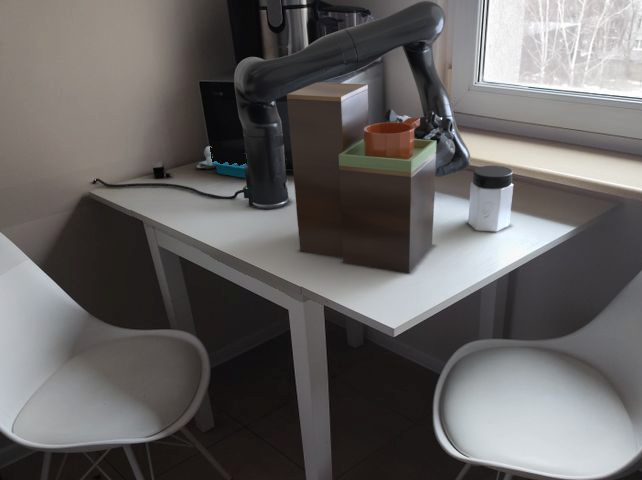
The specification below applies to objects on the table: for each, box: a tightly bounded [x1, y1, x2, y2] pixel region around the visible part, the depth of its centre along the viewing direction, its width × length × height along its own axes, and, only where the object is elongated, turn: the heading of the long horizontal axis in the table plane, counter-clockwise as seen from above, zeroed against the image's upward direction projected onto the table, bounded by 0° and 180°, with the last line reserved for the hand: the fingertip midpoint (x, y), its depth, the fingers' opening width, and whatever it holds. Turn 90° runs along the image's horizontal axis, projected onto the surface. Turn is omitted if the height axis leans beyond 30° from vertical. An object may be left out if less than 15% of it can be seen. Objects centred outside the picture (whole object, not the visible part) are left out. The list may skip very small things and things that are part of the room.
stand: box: [286, 82, 436, 274], centre depth 120 cm, size 14×25×31 cm, turn 64°
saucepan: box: [364, 117, 421, 160], centre depth 118 cm, size 18×9×5 cm, turn 155°
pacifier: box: [196, 145, 216, 170], centre depth 183 cm, size 7×6×6 cm
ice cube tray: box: [212, 161, 247, 179], centre depth 178 cm, size 12×20×3 cm, turn 58°
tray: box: [339, 139, 436, 172], centre depth 116 cm, size 14×14×2 cm
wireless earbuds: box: [152, 160, 172, 179], centre depth 179 cm, size 5×7×3 cm, turn 13°
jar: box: [467, 165, 514, 232], centre depth 134 cm, size 9×8×12 cm
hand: (409, 115), depth 121 cm, fingers open, 8 cm apart
